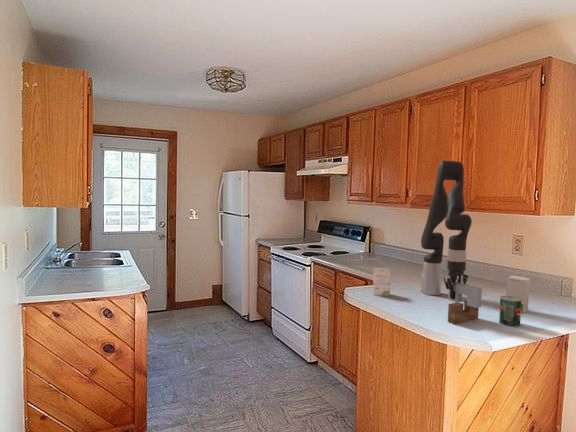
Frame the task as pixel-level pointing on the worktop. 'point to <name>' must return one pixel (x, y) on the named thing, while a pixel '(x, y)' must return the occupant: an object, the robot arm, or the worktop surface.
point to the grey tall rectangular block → (467, 294)
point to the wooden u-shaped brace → (461, 313)
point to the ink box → (381, 282)
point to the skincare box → (519, 290)
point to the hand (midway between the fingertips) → (455, 298)
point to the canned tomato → (510, 311)
